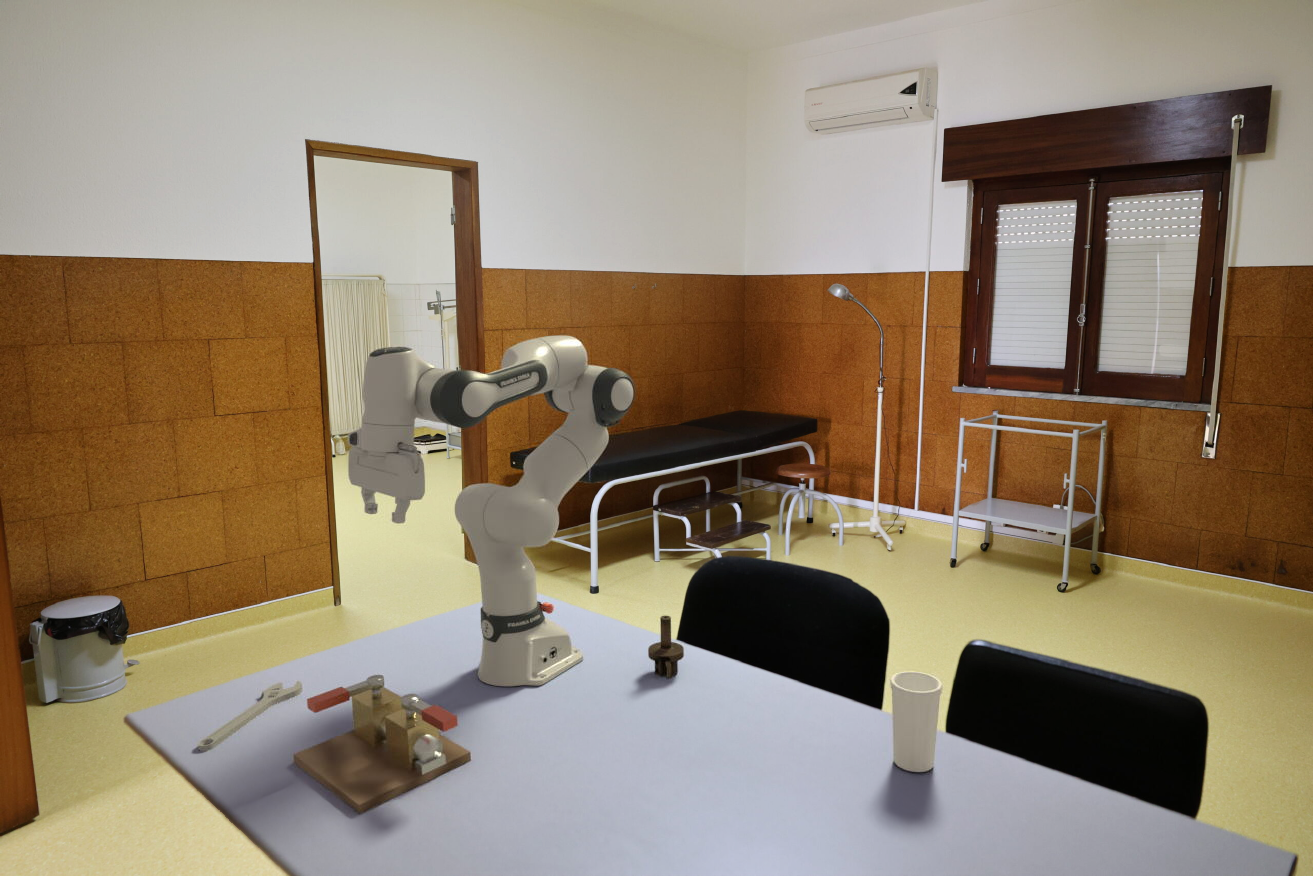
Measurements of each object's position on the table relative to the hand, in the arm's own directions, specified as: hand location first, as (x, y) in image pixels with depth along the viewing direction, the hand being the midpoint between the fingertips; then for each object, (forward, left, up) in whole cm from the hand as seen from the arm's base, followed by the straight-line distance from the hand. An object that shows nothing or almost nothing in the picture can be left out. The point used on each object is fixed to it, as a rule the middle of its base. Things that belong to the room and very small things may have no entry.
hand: (384, 518), depth 150 cm
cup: (-48, +77, -39) cm, 99 cm away
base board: (+9, +10, -39) cm, 41 cm away
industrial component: (-48, +23, -39) cm, 66 cm away
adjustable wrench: (+17, -24, -39) cm, 49 cm away
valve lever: (+11, +4, -28) cm, 31 cm away
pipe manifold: (+6, +13, -37) cm, 40 cm away
